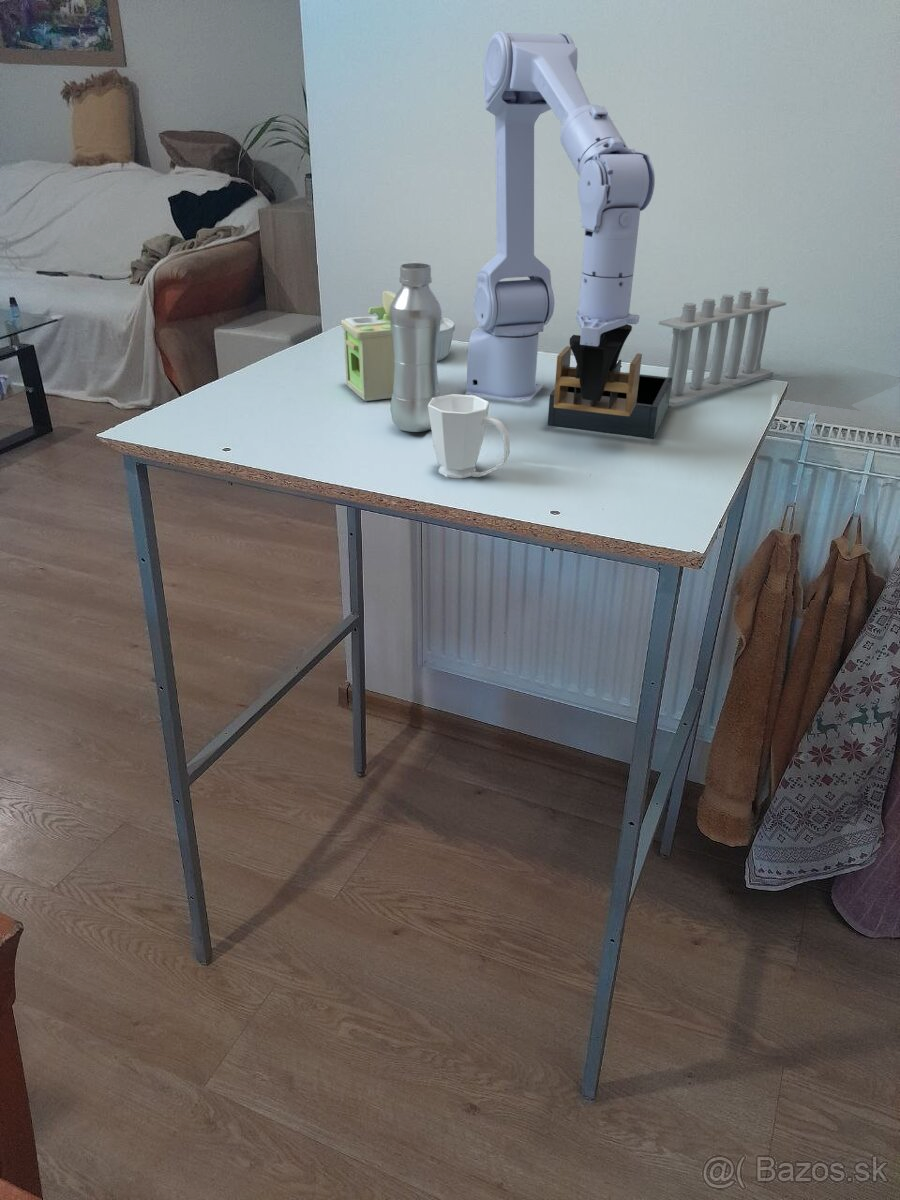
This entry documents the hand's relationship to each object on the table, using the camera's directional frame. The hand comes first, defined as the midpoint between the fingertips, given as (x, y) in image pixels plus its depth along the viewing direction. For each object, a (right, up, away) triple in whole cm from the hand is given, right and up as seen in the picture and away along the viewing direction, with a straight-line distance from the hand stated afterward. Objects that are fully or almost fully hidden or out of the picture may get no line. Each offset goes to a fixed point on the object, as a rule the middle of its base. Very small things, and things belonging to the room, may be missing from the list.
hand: (595, 393), depth 111 cm
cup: (-15, -10, -3) cm, 19 cm away
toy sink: (-28, +5, +23) cm, 36 cm away
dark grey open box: (+4, -1, +14) cm, 14 cm away
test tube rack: (+21, +6, +27) cm, 35 cm away
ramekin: (-22, +15, +40) cm, 48 cm away
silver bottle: (-22, -3, +9) cm, 24 cm away
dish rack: (0, -1, +1) cm, 2 cm away
